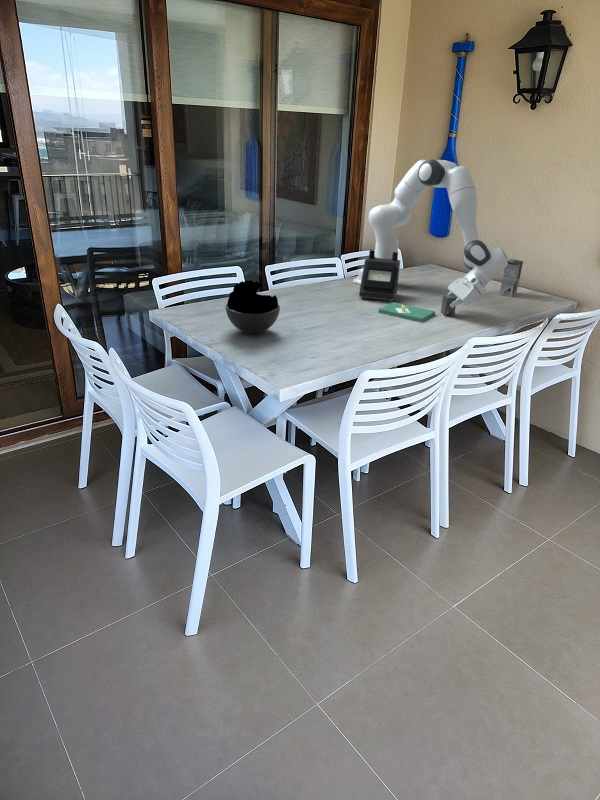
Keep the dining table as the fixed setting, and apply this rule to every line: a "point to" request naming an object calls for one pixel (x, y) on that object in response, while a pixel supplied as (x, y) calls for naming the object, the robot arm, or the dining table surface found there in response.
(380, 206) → the robot arm
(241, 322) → the coal bowl
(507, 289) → the coffee box
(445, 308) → the block
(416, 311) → the header board
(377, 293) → the voltmeter
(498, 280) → the dining table surface
